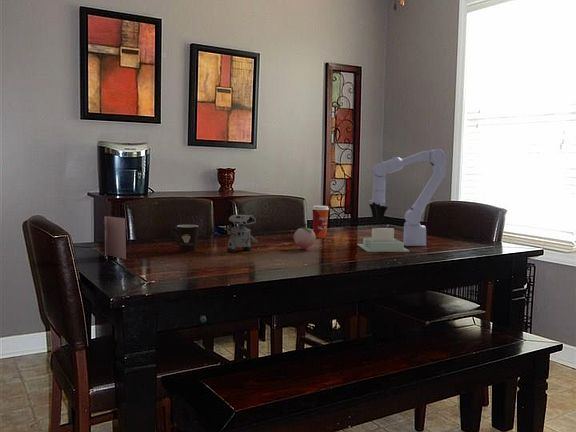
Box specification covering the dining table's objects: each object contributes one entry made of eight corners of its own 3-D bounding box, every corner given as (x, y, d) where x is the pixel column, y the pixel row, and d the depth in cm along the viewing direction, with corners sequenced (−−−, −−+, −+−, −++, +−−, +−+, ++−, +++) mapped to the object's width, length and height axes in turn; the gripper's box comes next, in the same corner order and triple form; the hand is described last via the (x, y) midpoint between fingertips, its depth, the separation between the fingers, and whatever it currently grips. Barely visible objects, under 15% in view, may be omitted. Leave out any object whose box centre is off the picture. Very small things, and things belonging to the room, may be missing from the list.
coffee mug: (202, 250, 222) (203, 225, 221) (190, 253, 214) (190, 227, 213) (179, 247, 227) (179, 223, 226) (166, 250, 219) (166, 225, 218)
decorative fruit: (319, 249, 228) (320, 225, 227) (306, 251, 222) (307, 227, 221) (302, 247, 235) (303, 223, 234) (289, 249, 229) (290, 225, 228)
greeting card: (102, 256, 205) (102, 216, 203) (123, 255, 208) (122, 215, 206) (104, 261, 194) (103, 219, 193) (126, 260, 197) (125, 218, 195)
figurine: (241, 255, 212) (242, 216, 211) (224, 250, 221) (225, 213, 219) (260, 252, 218) (260, 215, 217) (243, 248, 227) (243, 212, 225)
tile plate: (391, 246, 237) (392, 228, 236) (393, 247, 234) (394, 229, 233) (371, 246, 236) (372, 228, 235) (372, 247, 233) (373, 228, 232)
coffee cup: (322, 239, 258) (322, 207, 257) (307, 237, 263) (308, 206, 262) (331, 237, 265) (332, 206, 264) (317, 235, 270) (318, 205, 268)
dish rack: (397, 245, 244) (397, 237, 244) (409, 251, 228) (410, 243, 227) (357, 245, 242) (357, 237, 242) (367, 251, 226) (367, 243, 225)
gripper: (366, 189, 252) (364, 218, 254) (374, 191, 238) (373, 222, 239) (381, 189, 253) (379, 218, 254) (390, 191, 239) (388, 222, 240)
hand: (377, 220), depth 247 cm, fingers open, 7 cm apart
